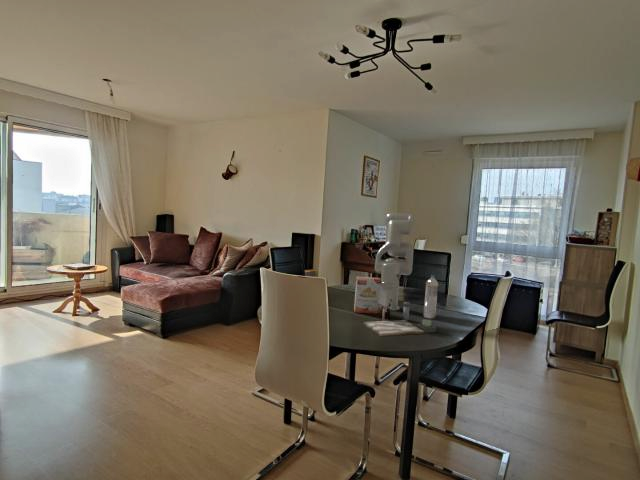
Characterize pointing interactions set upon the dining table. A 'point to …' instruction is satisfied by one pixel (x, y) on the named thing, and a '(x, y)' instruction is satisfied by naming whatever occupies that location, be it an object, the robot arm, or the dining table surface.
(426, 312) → the water bottle
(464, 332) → the dining table surface
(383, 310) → the marker terracotta
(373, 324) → the worksheet
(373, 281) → the cracker box
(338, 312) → the dining table surface
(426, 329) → the button housing
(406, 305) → the slate
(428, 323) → the button
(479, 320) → the dining table surface
